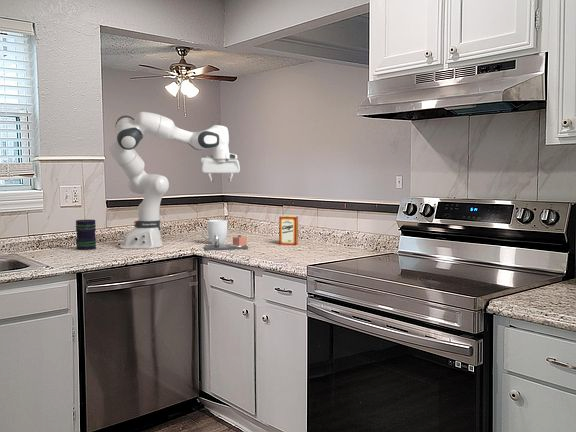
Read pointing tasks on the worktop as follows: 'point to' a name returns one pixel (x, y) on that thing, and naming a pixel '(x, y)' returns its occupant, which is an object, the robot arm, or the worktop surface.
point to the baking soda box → (288, 230)
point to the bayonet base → (223, 247)
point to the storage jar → (85, 234)
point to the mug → (216, 230)
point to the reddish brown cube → (239, 240)
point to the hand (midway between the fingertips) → (220, 181)
